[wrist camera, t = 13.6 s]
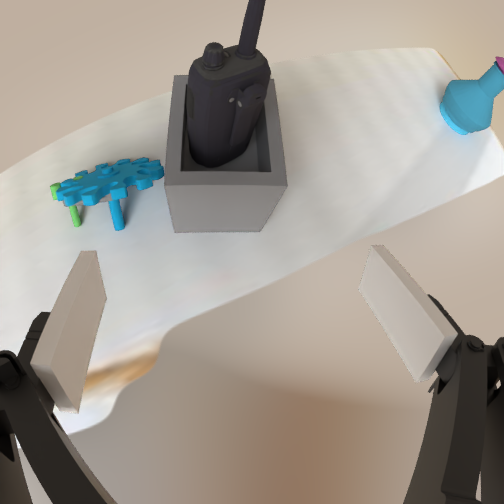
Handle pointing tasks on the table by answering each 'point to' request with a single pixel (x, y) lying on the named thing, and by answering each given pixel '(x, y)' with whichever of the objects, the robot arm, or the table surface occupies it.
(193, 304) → the table surface
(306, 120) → the table surface
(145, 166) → the gear
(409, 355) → the robot arm
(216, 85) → the two-way radio
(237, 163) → the charging dock
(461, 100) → the perfume bottle
